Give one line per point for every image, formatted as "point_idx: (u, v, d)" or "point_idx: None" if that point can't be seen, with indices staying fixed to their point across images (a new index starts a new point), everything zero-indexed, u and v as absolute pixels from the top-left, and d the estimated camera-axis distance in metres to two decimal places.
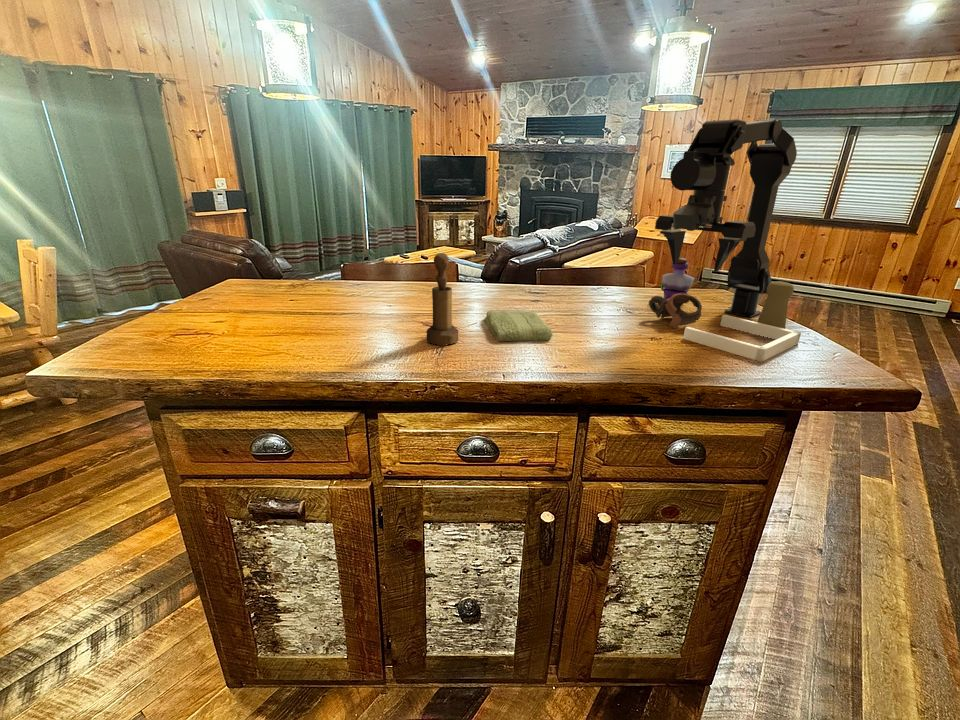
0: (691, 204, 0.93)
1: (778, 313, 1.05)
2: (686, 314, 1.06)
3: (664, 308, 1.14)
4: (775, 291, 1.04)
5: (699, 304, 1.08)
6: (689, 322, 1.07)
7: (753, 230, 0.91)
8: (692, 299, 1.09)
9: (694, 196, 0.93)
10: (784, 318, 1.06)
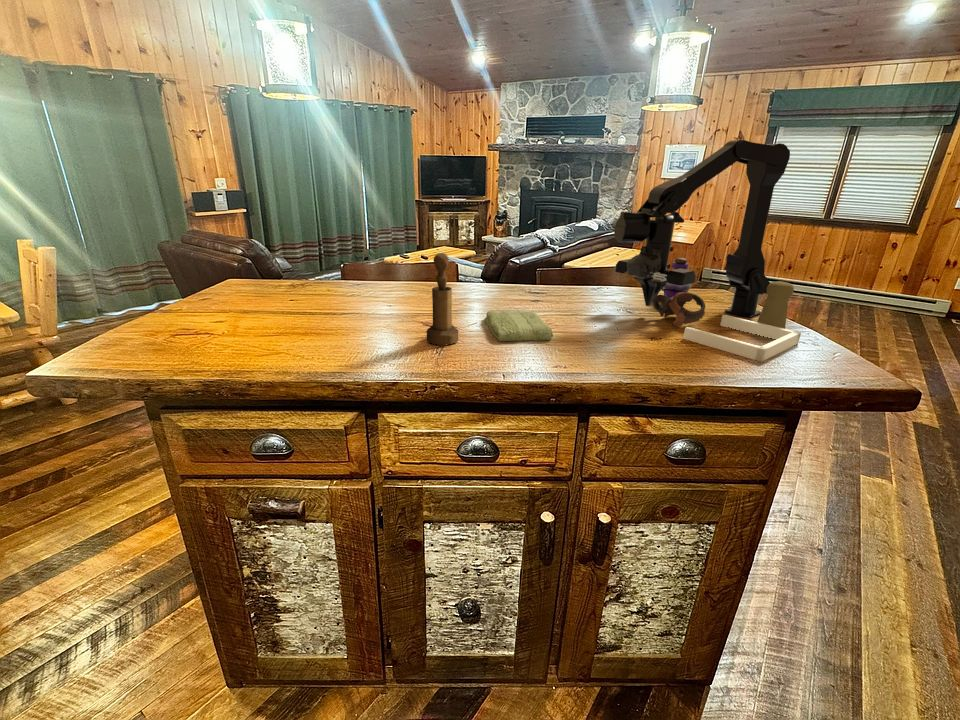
0: (642, 254, 1.10)
1: (778, 313, 1.05)
2: (690, 312, 1.06)
3: (667, 307, 1.15)
4: (775, 291, 1.04)
5: (702, 302, 1.09)
6: (693, 320, 1.07)
7: (693, 277, 1.07)
8: (695, 297, 1.10)
9: (645, 247, 1.10)
10: (784, 318, 1.06)
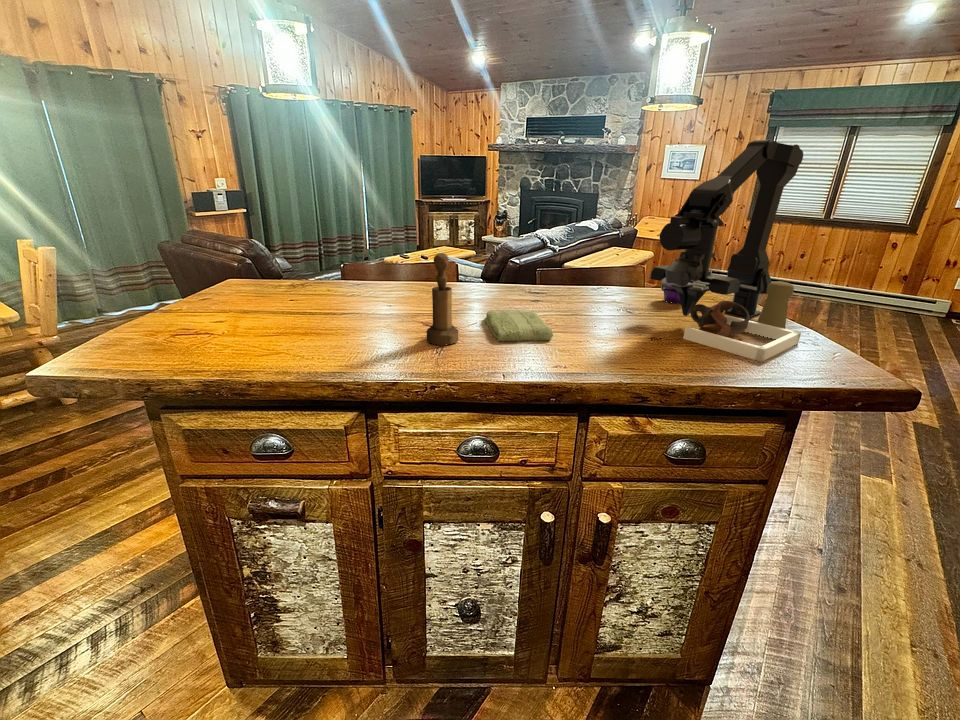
0: (682, 260, 1.03)
1: (778, 313, 1.05)
2: (737, 323, 0.99)
3: (705, 316, 1.07)
4: (775, 291, 1.04)
5: (746, 312, 1.02)
6: (739, 331, 1.00)
7: (737, 286, 1.00)
8: (737, 306, 1.03)
9: (685, 253, 1.03)
10: (784, 318, 1.06)
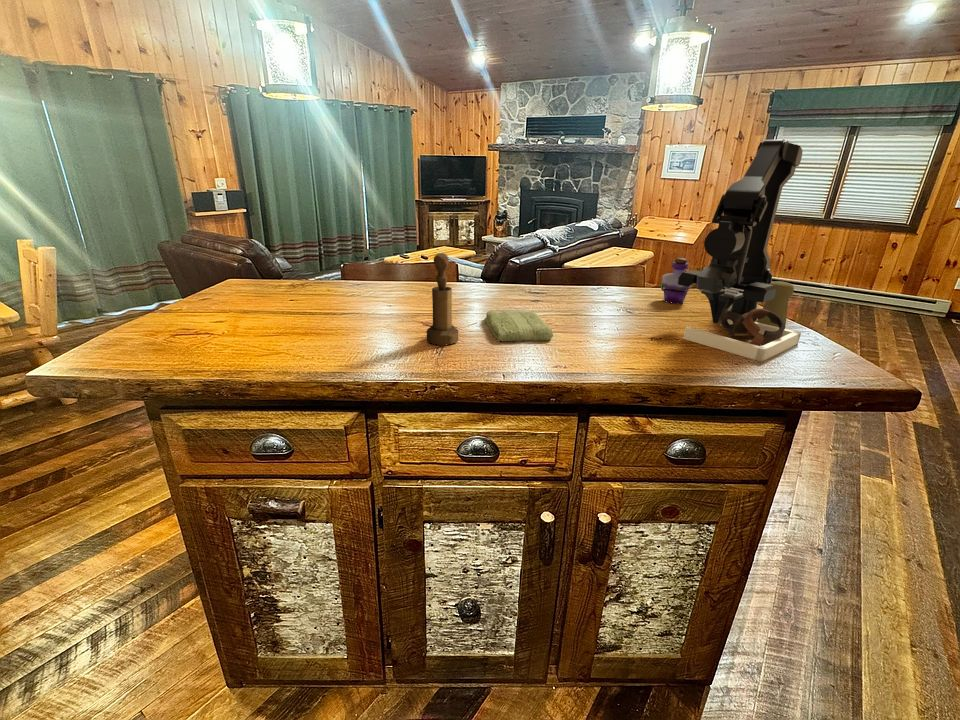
0: (714, 266, 0.98)
1: (778, 313, 1.05)
2: (771, 333, 0.94)
3: None
4: None
5: (781, 321, 0.96)
6: None
7: (773, 293, 0.95)
8: (772, 315, 0.97)
9: (717, 258, 0.98)
10: (784, 318, 1.06)
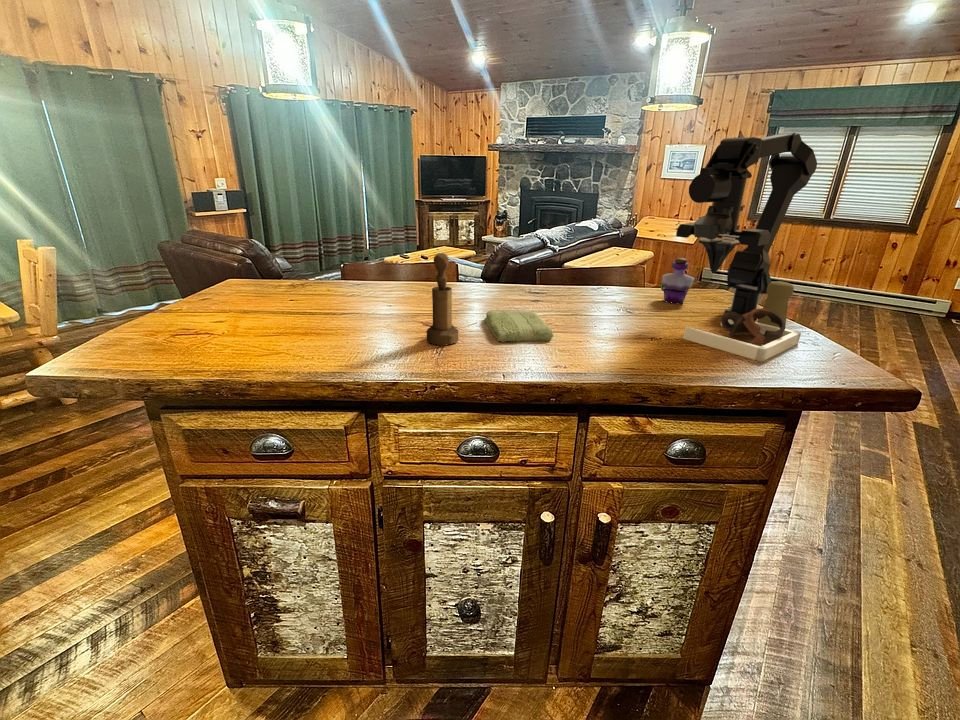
0: (710, 214, 1.02)
1: (778, 313, 1.05)
2: (771, 333, 0.94)
3: None
4: (775, 291, 1.04)
5: (782, 320, 0.97)
6: None
7: (768, 237, 0.99)
8: (772, 315, 0.98)
9: (713, 207, 1.02)
10: (784, 318, 1.06)
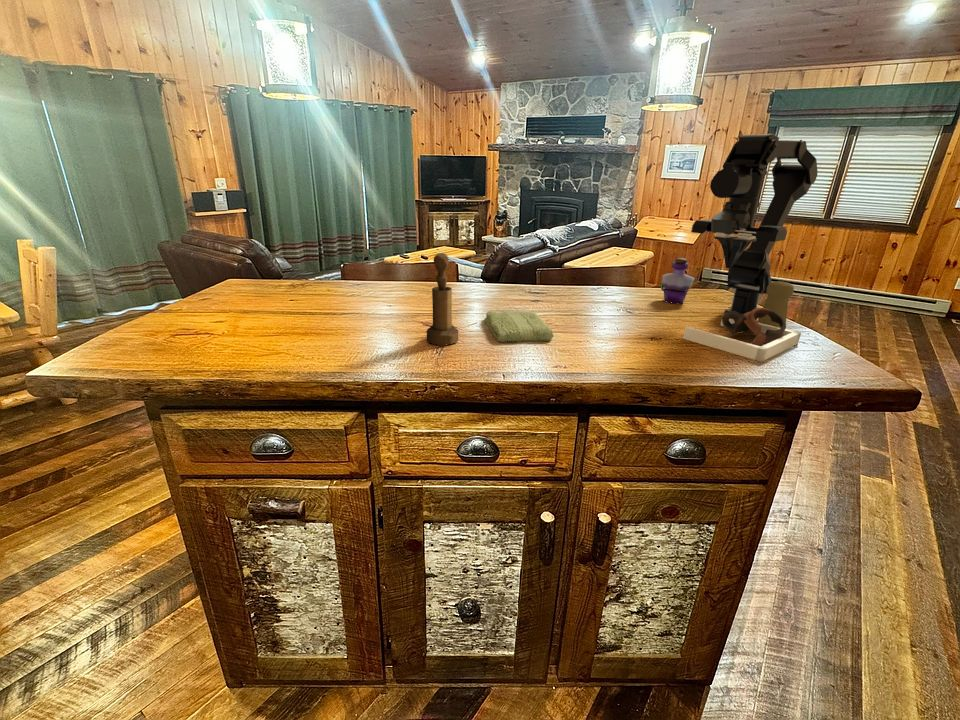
0: (727, 210, 1.03)
1: (778, 313, 1.05)
2: (772, 332, 0.95)
3: None
4: (775, 291, 1.04)
5: (782, 319, 0.97)
6: None
7: (785, 234, 1.00)
8: (773, 314, 0.99)
9: (730, 203, 1.03)
10: (784, 318, 1.06)
